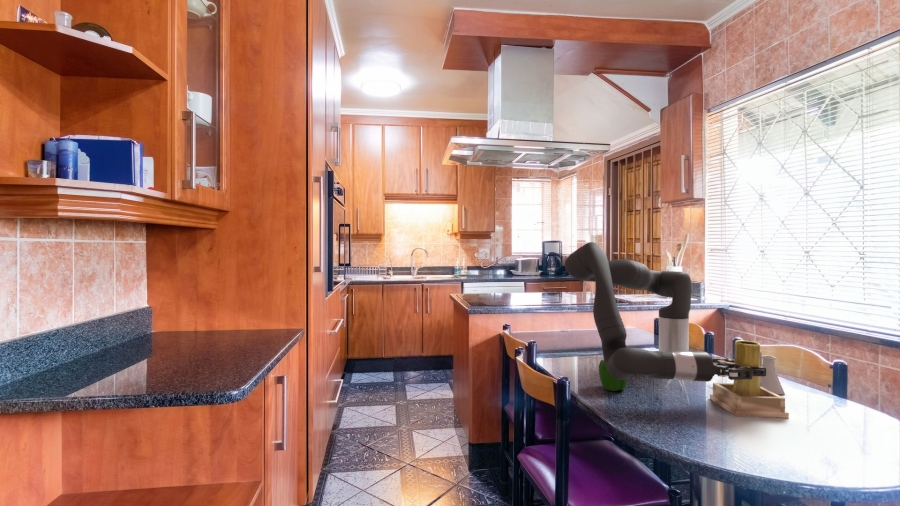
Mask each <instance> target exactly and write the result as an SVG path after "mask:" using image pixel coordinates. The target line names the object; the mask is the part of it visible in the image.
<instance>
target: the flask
mask: <svg viewBox="0 0 900 506" xmlns="http://www.w3.org/2000/svg"><path fill="white" fill-rule="evenodd" d="M776 359H777V357H775V356H773V355H766V354H765V355H762V367H764V368H766V376H762V387H763V388H765V389H767V390H769V391H771V392H773V393H775V394H777V395H779V396H780V395H785V394H786V393H785V391H784V389H783V386H782V384H781V381H780V379H779V377H778V373H777V371H776V365H775V361H776Z"/></svg>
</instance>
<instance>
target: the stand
mask: <svg viewBox="0 0 900 506" xmlns="http://www.w3.org/2000/svg"><path fill="white" fill-rule="evenodd" d="M762 356H763V353H762V351H760V367H762V364H763V358H762ZM733 384H734V382H733V383H729V382H728V383H727V382H725V383H724V382H712V393H710V394H709V399H710V400H712V401H713V402H714V403H716V404H718V405H719V406H720V405H721V406H720V407H721V408H723V407H724V408H723V409H724V410H726V411H727V412H729V413H731V414H733V415H734V416H735V417H748V416H762V417H761V418H776V417H783V419H788V418H789V419H790V417H789V416H790V413H789V412H788V411H786V398H785V397H783V396H781V395H780V394H779V395H777V394H775V393H773V392H771V391H769V390H767V389H765V388H763V387H762V376H760V393H761V396H738V395H737V394H735V393H733Z"/></svg>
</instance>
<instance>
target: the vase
mask: <svg viewBox="0 0 900 506" xmlns="http://www.w3.org/2000/svg"><path fill="white" fill-rule="evenodd" d="M760 352H761V344H760V343H759V342H756V341H752V340H751V341H750V340H742V339H741V340H739V339H738V340H735V342H734V361H735V363H738V364H739V365H741V366H751V367H760ZM744 374H745V372H744ZM733 383H734V384H733V393H735V394H737V395H738V396H761V393H760V376H752V379H741V380H733Z"/></svg>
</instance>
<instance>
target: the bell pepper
mask: <svg viewBox="0 0 900 506" xmlns="http://www.w3.org/2000/svg"><path fill="white" fill-rule="evenodd" d="M598 374H599V378H600V379H599V380H600V383H601V385H602V387H603V388H604V390H606V391H610V392H618V391H624V390H625V389H626V386H627V383H628V380H629V378H628V379H626V380H618V379H616V378H614V377H613V376H611V374H610V373H609V372H608V370H607V368H606V365H605V361H604V359H601V360H600V362H599V364H598Z"/></svg>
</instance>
